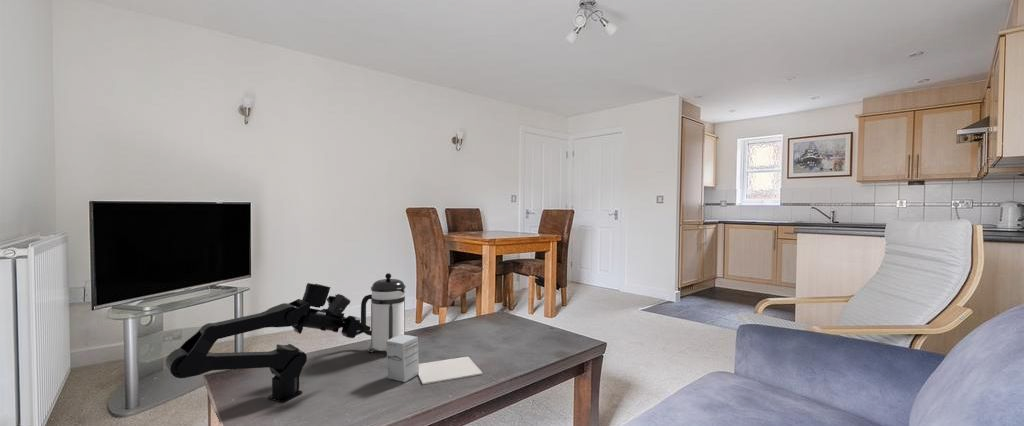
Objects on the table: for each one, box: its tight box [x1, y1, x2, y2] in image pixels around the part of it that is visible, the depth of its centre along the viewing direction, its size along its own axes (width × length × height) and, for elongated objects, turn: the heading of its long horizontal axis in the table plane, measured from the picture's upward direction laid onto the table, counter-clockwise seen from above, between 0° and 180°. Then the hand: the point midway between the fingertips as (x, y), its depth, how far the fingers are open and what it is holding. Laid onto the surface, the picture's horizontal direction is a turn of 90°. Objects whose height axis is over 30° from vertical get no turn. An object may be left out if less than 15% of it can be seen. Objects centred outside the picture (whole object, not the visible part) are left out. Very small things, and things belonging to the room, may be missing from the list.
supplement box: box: [386, 334, 420, 383], centre depth 132 cm, size 7×7×13 cm
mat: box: [417, 356, 484, 385], centre depth 138 cm, size 20×16×1 cm
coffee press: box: [360, 272, 407, 354], centre depth 156 cm, size 17×16×30 cm
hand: (362, 325), depth 136 cm, fingers open, 9 cm apart
